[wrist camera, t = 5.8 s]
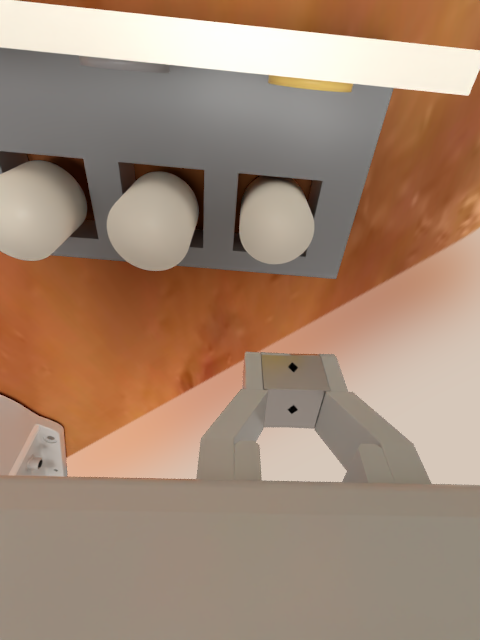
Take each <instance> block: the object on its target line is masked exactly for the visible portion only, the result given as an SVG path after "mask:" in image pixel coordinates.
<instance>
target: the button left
mask: <svg viewBox="0 0 480 640" xmlns="http://www.w3.org/2000/svg"><path fill="white" fill-rule="evenodd" d="M86 215H87V201H86V197H85V195H84V192H83V190H82V188H81V187H80V185H79V184H78V182H77V181H76V180H75V179H74V178H73V177H72V176H71V174H69V173H68V172H67V171H66V170H64V169H63V168H61V167H59V166H58V165H56V164H53V163H51V162H47V161H42V160H33V161H28V162H26V163H24V164H21V165H19V166H17V167H15V168H13V169H11V170H9V171H6V172H4V173H2V174H0V251H1V252H3V253H5V254H7V255H9V256H11V257H14V258H17V259H21V260H26V261H37V260H42V259H44V258H47V257H48V256H50V255H51V254H52V253H53V252H54V251H55V250H56V249H57V248H58V247H59V246H60V245H61V244H62V243H63V242H64V241H65V240H66V239H67V238H68V237H69V236H70V235H71V234H72V233H73V232H74V231H75V230H77V229H78V228H79V227H80V226H81V225H82V223H83V222H84V220H85V218H86Z"/></svg>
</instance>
